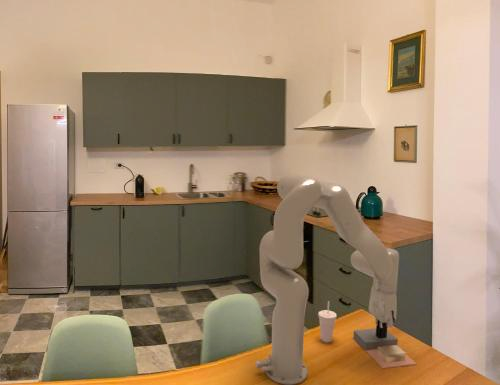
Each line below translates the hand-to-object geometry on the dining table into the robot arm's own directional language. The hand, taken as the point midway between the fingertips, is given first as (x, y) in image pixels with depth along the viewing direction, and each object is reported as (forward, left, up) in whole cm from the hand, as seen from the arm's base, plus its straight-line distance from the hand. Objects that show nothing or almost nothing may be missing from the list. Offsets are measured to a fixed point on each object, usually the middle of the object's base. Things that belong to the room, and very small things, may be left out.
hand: (381, 336), depth 133 cm
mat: (0, -6, -4) cm, 7 cm away
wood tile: (0, -6, -3) cm, 7 cm away
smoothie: (-16, +9, -4) cm, 19 cm away
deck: (0, +4, -4) cm, 6 cm away
